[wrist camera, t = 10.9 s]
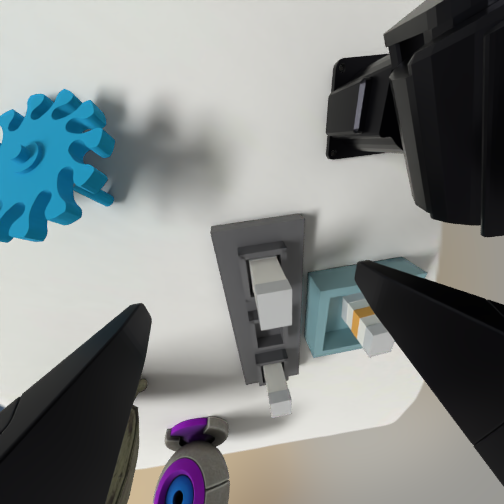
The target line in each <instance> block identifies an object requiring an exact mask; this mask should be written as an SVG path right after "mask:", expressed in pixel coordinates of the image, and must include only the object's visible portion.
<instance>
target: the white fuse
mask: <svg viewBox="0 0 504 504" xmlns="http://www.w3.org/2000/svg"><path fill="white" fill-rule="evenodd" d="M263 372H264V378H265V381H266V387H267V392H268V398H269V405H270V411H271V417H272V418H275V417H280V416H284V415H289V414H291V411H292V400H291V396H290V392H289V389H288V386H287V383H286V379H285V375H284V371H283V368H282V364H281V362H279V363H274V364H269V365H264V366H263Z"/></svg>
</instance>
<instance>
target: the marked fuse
mask: <svg viewBox="0 0 504 504" xmlns="http://www.w3.org/2000/svg"><path fill="white" fill-rule="evenodd" d="M341 317H342V319H343V320H344V322H345V323H346V324H347V325H348V327H349V328H350V329H351V331H352V333H353V334H354V336H355V337H356V339H357V340H358V341H359V343H360V344H361V346H362V348H363V349H364V351H365V352H366V354H367V355H368V357H372V356H376V355H380V354H384V353H388V352H391V350H392V347H393V344H394V341H395V340H394V339H393V338H392V336H391V335H390V334H389V332H388V331H387V330H386V328H385V327H384V326H383V324H382V323H381V322H380V320H379V319H378V318H377V316H376V315H375V313H374V312H373V310H372V309H371V307H370V306H369V304H368V302H367V301H366V299H365V297H364V296H363V294H362V292H360V293H355V294H351V295H347V296H343V300H342V315H341Z"/></svg>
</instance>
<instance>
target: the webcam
mask: <svg viewBox="0 0 504 504" xmlns="http://www.w3.org/2000/svg"><path fill="white" fill-rule="evenodd" d="M227 437H228V424H227V422H226V421H225V420H223V419H220V418H217V417H211V416H209V417H208V418H197V419H190V420H187V421H184V422H181V423H179V424H177V425H175V426H174V427H173V428H172V429H167V431H166V435H165V445H166V446H167V448H169V449H171V450H173V451H176V452H175V453H174V455H173V456H172V457H171V458H170V459H169V461H168V462H167V464H166V465H165V467H164V469H163V471H162V473H161V475H160V477H159V480H158V483H157V486H156V490H155V494H154V499H153V504H228V499H229V486H230V481H229V480H228V479H229V473H228V469H227V465H226V462H225V460H224V457H223V456H222V454H221V452H220V451H219V450H218V449H217V448H216V446H218V445H220V444H222V443H223V442H224V441H225V440H226V439H227Z"/></svg>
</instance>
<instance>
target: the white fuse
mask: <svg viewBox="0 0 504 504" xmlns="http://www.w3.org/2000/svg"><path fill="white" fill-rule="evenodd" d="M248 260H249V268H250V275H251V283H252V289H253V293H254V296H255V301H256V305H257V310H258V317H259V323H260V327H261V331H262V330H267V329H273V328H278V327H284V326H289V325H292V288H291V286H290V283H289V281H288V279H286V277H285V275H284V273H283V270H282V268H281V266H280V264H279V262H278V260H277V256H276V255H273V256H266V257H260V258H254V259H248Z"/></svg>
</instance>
